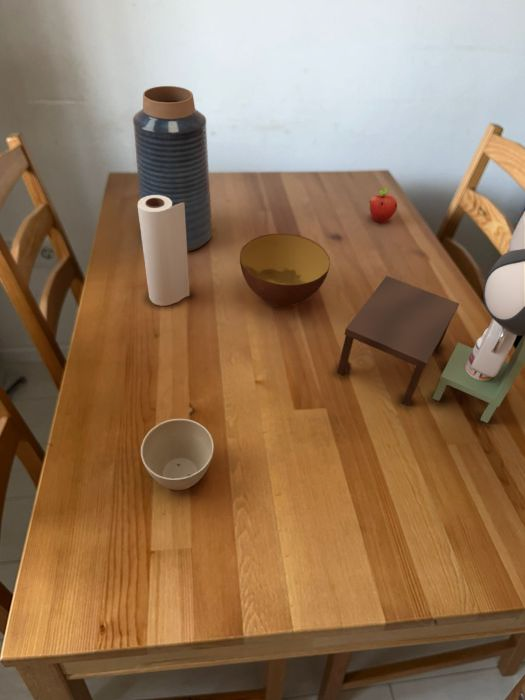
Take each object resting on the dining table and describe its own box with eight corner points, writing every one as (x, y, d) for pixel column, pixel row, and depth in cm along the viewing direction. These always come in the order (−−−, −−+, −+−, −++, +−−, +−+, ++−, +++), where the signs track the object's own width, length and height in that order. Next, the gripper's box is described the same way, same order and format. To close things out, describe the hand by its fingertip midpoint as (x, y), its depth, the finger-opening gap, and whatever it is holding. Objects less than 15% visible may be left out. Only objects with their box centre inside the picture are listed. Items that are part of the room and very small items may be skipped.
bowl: (225, 283, 109) (225, 243, 102) (296, 265, 116) (301, 226, 109) (262, 335, 99) (266, 294, 92) (339, 311, 105) (347, 271, 98)
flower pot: (131, 482, 75) (125, 454, 70) (176, 436, 81) (173, 407, 76) (184, 519, 71) (181, 492, 66) (227, 468, 77) (228, 440, 72)
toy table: (440, 347, 99) (459, 303, 91) (408, 407, 88) (426, 363, 80) (374, 319, 104) (386, 275, 96) (335, 373, 93) (345, 328, 85)
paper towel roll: (143, 300, 104) (130, 204, 89) (160, 284, 108) (151, 190, 93) (172, 312, 102) (164, 216, 87) (189, 296, 106) (184, 201, 91)
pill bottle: (496, 368, 87) (516, 332, 81) (489, 386, 84) (510, 349, 78) (468, 357, 89) (486, 321, 83) (461, 374, 86) (479, 337, 80)
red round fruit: (365, 212, 134) (373, 176, 127) (390, 214, 135) (400, 178, 128) (368, 228, 129) (376, 191, 122) (395, 230, 129) (405, 193, 122)
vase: (184, 262, 114) (174, 116, 92) (128, 238, 119) (106, 95, 97) (225, 231, 124) (226, 92, 102) (172, 210, 130) (162, 74, 108)
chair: (502, 387, 92) (537, 326, 82) (488, 424, 86) (524, 363, 75) (448, 364, 96) (475, 303, 85) (430, 398, 89) (458, 336, 79)
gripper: (529, 341, 67) (489, 408, 77) (555, 267, 80) (518, 332, 90) (481, 322, 69) (448, 389, 79) (513, 253, 82) (482, 318, 92)
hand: (486, 358), depth 84 cm, fingers closed on pill bottle, 5 cm apart
